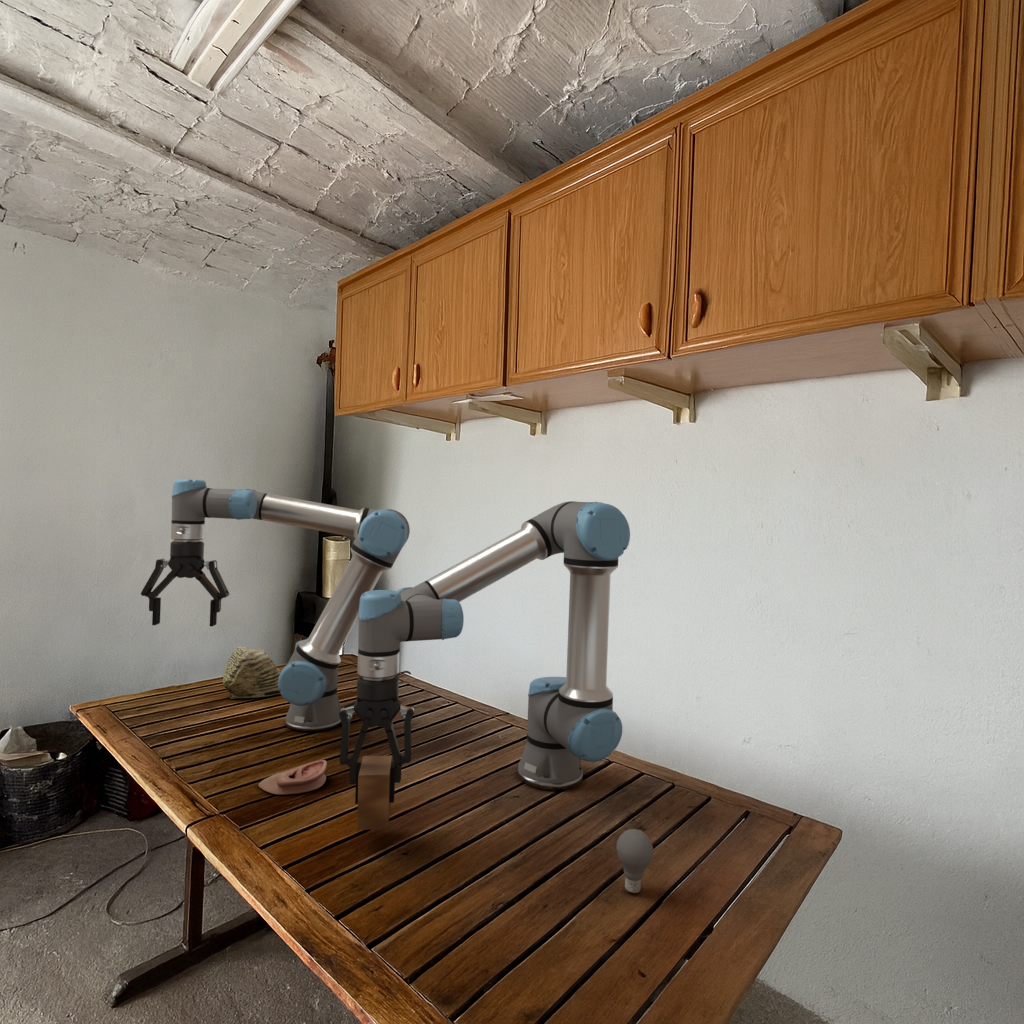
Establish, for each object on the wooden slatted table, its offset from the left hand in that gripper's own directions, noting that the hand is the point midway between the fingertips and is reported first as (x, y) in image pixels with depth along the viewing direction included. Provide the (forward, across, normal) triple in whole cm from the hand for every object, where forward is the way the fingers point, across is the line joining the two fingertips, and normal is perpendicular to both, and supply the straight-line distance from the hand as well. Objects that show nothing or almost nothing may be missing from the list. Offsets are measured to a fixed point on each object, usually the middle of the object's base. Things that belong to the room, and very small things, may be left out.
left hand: (184, 624), depth 159 cm
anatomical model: (+29, +33, -25) cm, 51 cm away
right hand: (+21, +52, -50) cm, 75 cm away
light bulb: (+29, +97, -67) cm, 121 cm away
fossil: (+29, +8, +37) cm, 48 cm away
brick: (+25, +52, -50) cm, 76 cm away
